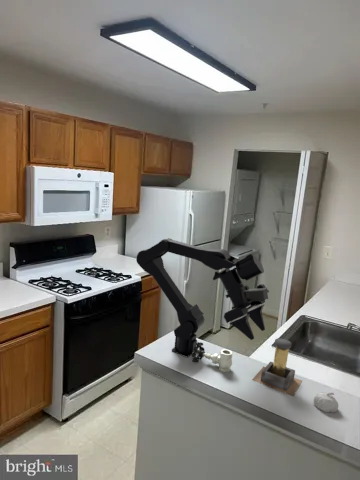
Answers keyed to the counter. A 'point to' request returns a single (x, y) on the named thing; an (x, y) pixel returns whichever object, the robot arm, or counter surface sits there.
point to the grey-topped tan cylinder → (281, 356)
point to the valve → (214, 357)
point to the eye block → (278, 379)
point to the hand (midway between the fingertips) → (258, 334)
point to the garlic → (326, 402)
